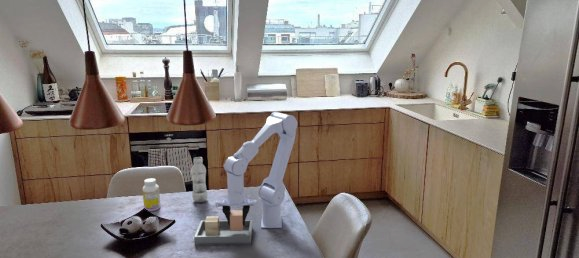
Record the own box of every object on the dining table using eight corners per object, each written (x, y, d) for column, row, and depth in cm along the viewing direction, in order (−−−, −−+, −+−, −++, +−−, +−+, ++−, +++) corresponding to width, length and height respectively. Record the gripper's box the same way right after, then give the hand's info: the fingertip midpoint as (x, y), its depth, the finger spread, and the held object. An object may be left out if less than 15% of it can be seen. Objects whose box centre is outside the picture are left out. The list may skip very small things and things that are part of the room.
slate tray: (201, 228, 155) (200, 220, 154) (252, 228, 156) (252, 219, 155) (194, 245, 143) (194, 236, 142) (250, 245, 144) (250, 236, 143)
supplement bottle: (148, 204, 176) (146, 176, 173) (163, 205, 176) (160, 177, 173) (141, 211, 170) (138, 182, 167) (156, 212, 169) (154, 183, 166)
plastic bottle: (204, 204, 176) (202, 161, 172) (190, 203, 178) (187, 160, 173) (210, 198, 182) (208, 156, 178) (196, 197, 184) (193, 155, 179)
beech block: (207, 231, 151) (206, 216, 150) (219, 231, 152) (218, 216, 150) (205, 237, 147) (204, 222, 145) (218, 237, 147) (217, 221, 146)
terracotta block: (231, 225, 151) (231, 210, 150) (243, 225, 151) (243, 210, 150) (230, 230, 147) (229, 215, 146) (242, 230, 147) (242, 215, 146)
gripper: (213, 194, 141) (215, 229, 144) (255, 194, 141) (256, 229, 145) (216, 186, 148) (218, 220, 151) (256, 186, 148) (257, 220, 152)
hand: (236, 224), depth 148 cm, fingers closed on terracotta block, 4 cm apart
